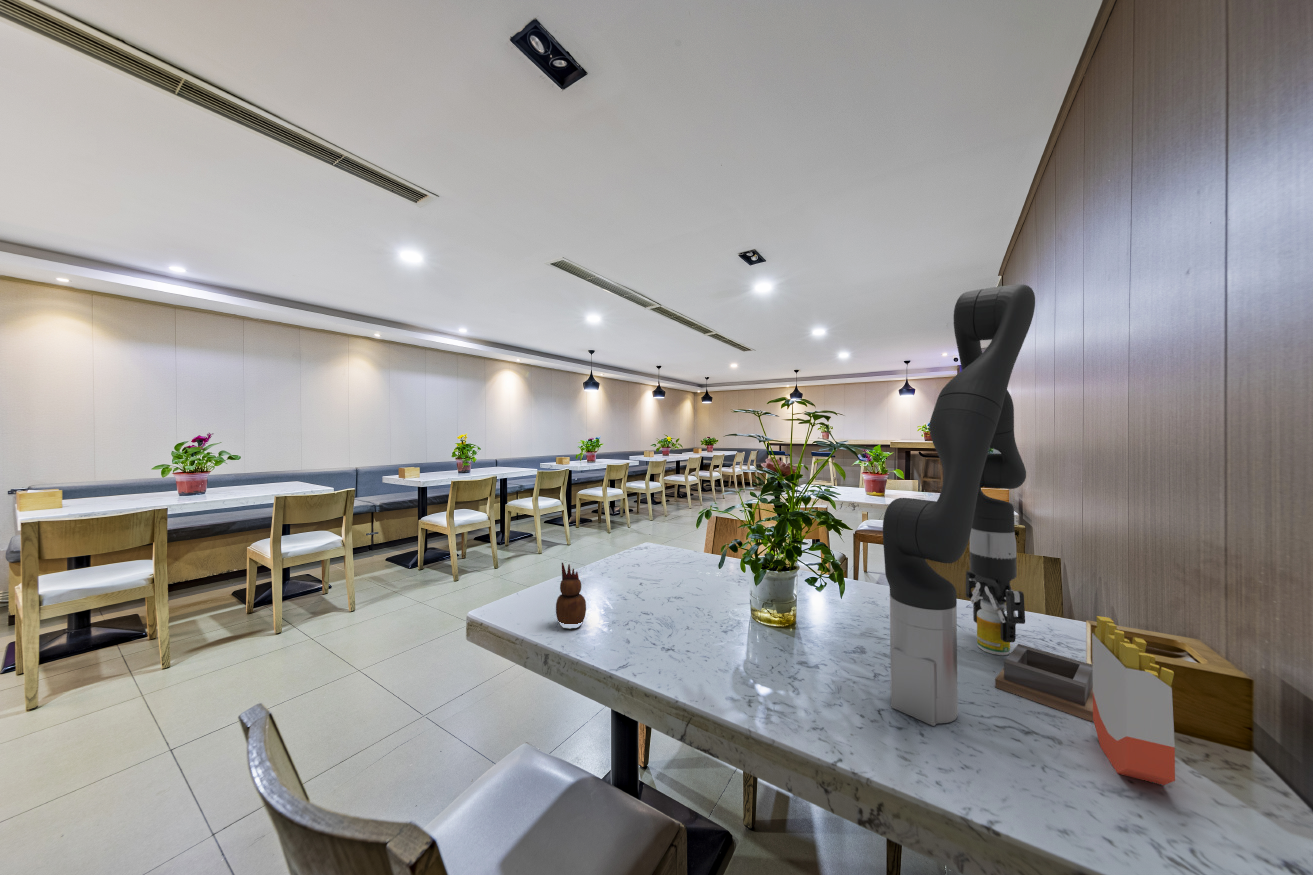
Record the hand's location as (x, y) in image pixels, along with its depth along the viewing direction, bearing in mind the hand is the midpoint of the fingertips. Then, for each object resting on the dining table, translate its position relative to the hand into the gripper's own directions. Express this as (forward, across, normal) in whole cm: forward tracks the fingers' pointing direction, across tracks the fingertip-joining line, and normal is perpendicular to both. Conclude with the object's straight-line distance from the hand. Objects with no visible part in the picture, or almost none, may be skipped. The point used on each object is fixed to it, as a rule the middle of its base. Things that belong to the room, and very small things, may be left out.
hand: (993, 631), depth 89 cm
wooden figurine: (+4, +4, +89) cm, 89 cm away
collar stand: (+4, -14, 0) cm, 15 cm away
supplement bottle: (+4, 0, 0) cm, 4 cm away
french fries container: (+4, -32, +3) cm, 32 cm away
